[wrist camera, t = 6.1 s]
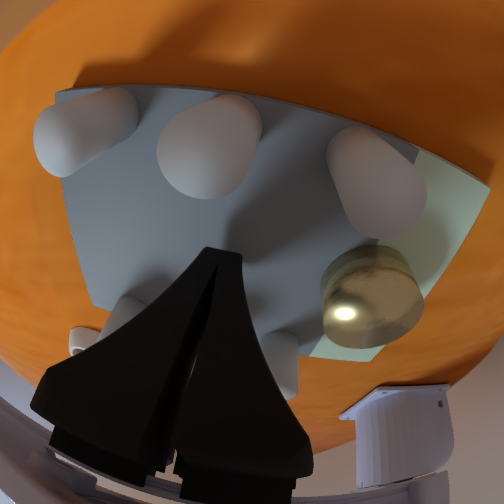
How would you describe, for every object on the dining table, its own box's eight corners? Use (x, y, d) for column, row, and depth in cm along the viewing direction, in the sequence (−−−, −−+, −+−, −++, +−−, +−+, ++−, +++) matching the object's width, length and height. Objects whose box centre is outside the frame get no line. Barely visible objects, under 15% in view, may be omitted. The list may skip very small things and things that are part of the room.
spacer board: (478, 178, 8) (534, 232, 5) (366, 348, 15) (374, 405, 12) (71, 87, 8) (-4, 114, 4) (100, 294, 15) (71, 344, 12)
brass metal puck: (424, 252, 9) (442, 287, 8) (386, 316, 12) (394, 350, 10) (335, 236, 10) (343, 274, 8) (309, 308, 12) (310, 345, 10)
